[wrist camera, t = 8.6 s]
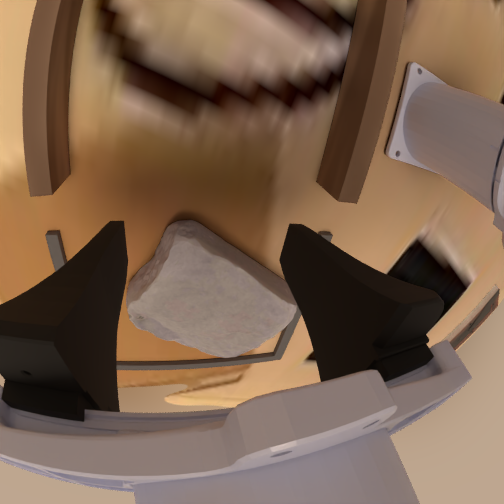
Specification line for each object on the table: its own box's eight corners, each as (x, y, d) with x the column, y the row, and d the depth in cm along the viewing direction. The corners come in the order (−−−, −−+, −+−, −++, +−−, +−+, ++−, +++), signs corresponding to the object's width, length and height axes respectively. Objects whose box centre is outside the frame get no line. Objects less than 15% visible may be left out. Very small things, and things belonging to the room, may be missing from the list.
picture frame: (493, 282, 45) (433, 345, 52) (499, 289, 43) (438, 352, 50) (493, 300, 53) (443, 352, 61) (498, 306, 52) (447, 358, 59)
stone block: (222, 325, 28) (300, 278, 23) (223, 368, 24) (311, 326, 20) (119, 274, 21) (187, 197, 17) (105, 322, 18) (177, 249, 13)
